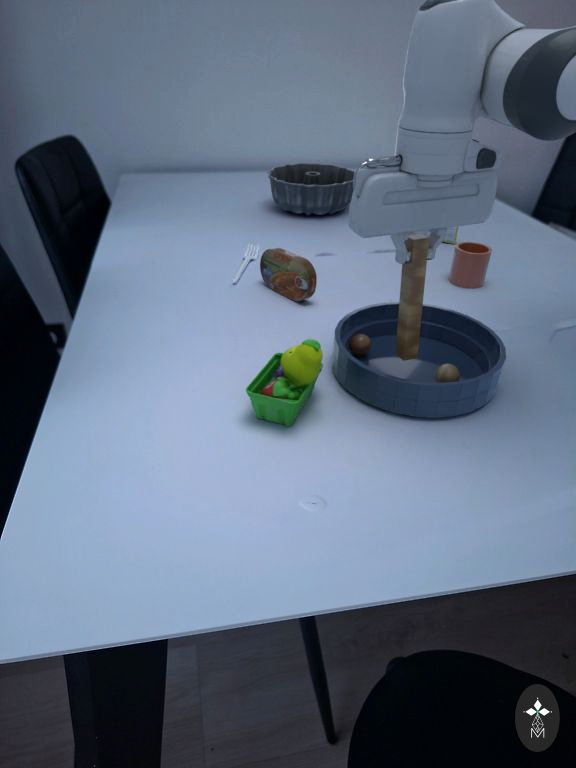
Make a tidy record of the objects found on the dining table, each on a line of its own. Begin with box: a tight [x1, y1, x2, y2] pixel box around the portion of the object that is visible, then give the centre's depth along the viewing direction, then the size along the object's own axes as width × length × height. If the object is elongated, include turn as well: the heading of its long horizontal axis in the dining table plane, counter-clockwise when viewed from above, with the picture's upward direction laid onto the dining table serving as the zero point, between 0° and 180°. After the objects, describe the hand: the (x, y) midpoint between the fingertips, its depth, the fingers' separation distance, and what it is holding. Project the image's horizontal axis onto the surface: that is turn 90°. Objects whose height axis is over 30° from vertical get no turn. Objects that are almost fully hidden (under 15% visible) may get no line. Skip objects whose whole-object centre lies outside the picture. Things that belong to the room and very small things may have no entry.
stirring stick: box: [395, 234, 429, 361], centre depth 76 cm, size 2×2×18 cm
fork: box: [232, 243, 260, 284], centre depth 119 cm, size 3×20×2 cm, turn 171°
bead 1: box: [349, 334, 372, 356], centre depth 87 cm, size 4×4×4 cm
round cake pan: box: [331, 301, 507, 418], centre depth 83 cm, size 26×26×6 cm
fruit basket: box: [245, 338, 324, 427], centre depth 73 cm, size 11×9×11 cm
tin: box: [259, 247, 318, 303], centre depth 106 cm, size 15×3×8 cm, turn 40°
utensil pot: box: [448, 241, 493, 290], centre depth 112 cm, size 7×7×8 cm
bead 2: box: [435, 364, 460, 383], centre depth 80 cm, size 4×4×4 cm
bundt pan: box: [267, 162, 355, 217], centre depth 156 cm, size 26×26×10 cm
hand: (414, 260), depth 73 cm, fingers closed on stirring stick, 2 cm apart
